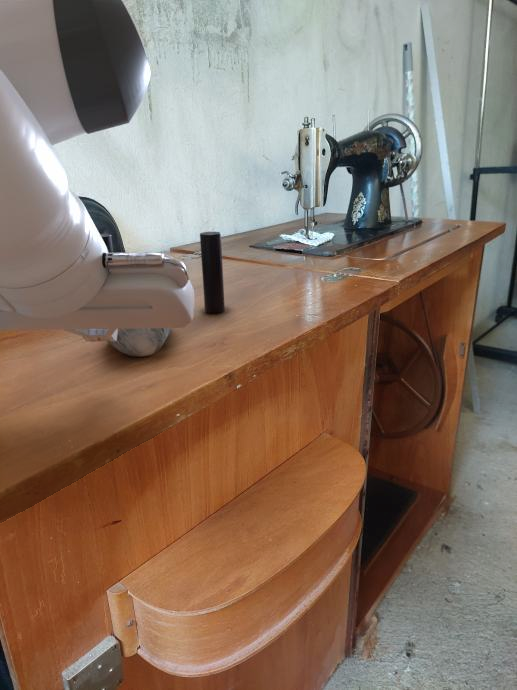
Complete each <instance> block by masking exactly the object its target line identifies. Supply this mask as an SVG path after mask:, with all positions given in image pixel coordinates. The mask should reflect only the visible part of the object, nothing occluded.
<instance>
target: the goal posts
mask: <svg viewBox="0 0 517 690" xmlns="http://www.w3.org/2000/svg"><path fill="white" fill-rule="evenodd" d="M99 234H100V236H101V237H102V239H103V241H104V243H105V245H106V247H107V250H108V253H114V248H113V240H112V234H110V233H99ZM199 243H200V256H201V257H200V258H201V274H202V287H203V302H204V303H203V304H204V313H205V314H208V315H220V314H224V313H225V311H226V310H225V309H226V307H225V306H226V305H225V287H224V285H225V284H224V267H223V249H222V248H223V247H222V233H221V231H203V232H200V233H199Z"/></svg>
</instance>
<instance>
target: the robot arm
mask: <svg viewBox="0 0 517 690" xmlns="http://www.w3.org/2000/svg"><path fill="white" fill-rule="evenodd" d="M148 59H149V58H148V53H147V49H146V47H145V43H144V39H143V36H142V35H141V31H140V29H139V26H138V25H137V23H136V20H135V18H134V16H133V14H132V13H131V11H130V10H129V8H128V6H127V4H125V2H124V1H123V0H0V331H49V330H51V331H52V330H53V331H55V330H56V331H58V330H60V331H61V330H64V331H67V332H68V333H72V334H74V335H77V336H81V337H82V338H83V339H84V340H85V341H86V343H87V342H88V343H90V342H92V343H93V342H94V343H96V342H108V341H116V340H117V333H118V329H133V328H170V329H183V328H186V327H187V326H189V325H190V324H191V323H192V322H193V321H194V317H195V299H196V298H195V297H196V296H195V290H194V287H193V284H192V282H191V280H190V277H189V273H188V270H187V268H186V265H185V263H184V262H183V261H182V260H180V259H175V258H174V257H172V256H170V255H169V254H166V253H162V252H155V251H154V252H153V251H142V252H141V251H136V252H135V251H134V252H113V253H108V250H107V247H106V245H105V243H104V241H103V239H102V237H101V236H100V234H101V233H100V232H99V230H98V228H97V226H96V224H95V223H94V220H93V219H92V217H91V215H90V213H89V212H88V209H87V208H86V206H85V204H84V203H83V201H82V199H81V198H80V197H79V196H78V195H77V194H76V193H75V192H74V191H72V190H71V188H70V187H69V182H68V181H69V180H68V177H67V171H66V170H65V169H66V168H65V166H64V165H63V163H62V161H61V159H60V157H59V155H58V154H57V152H56V149H55V148H54V146H55V145H57V144H59V143H62V142H65V141H67V140H70V139H73V138H76V137H79V136H81V135H83V134H87V135H90V134H93V133H97V132H100V131H101V132H102V131H105V130H109V129H111V128H115V127H119V126H123V125H127V124H130V122H131V121H132V119H133V117H134V116H135V114H136V113H137V110H138V109H139V107H140V105H141V103H142V101H143V99H144V97H145V95H146V92H147V89H148V86H149V83H150V81H151V68H150V63H149V60H148Z"/></svg>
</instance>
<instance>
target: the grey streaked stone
mask: <svg viewBox="0 0 517 690" xmlns="http://www.w3.org/2000/svg"><path fill="white" fill-rule="evenodd" d="M170 331H171V328H133V329H118V333H117V340H116V341H107V343H108V344H110V345H111V346H112V347H113V348H114V349H115V350H116V351H118V352H121V354H125V355H127V356H130V357H134V358H135V357H137V358H146V357H149V356H152V355H154V354H155V353H157V352H158V351H159V350H160V349H161V348H162V346H163V345H164V344H165V342H166V340H167V338H168V337H169V335H170Z"/></svg>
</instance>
